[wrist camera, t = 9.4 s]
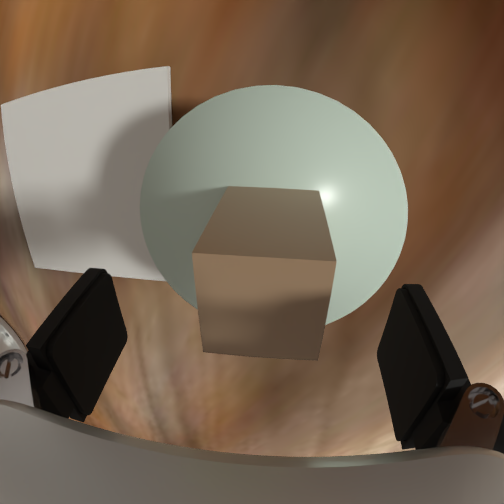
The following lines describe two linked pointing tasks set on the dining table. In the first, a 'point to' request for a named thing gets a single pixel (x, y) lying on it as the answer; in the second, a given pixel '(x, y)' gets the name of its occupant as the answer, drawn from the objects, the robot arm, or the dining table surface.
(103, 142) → the mat
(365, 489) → the robot arm
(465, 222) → the dining table surface
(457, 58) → the dining table surface
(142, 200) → the lid
